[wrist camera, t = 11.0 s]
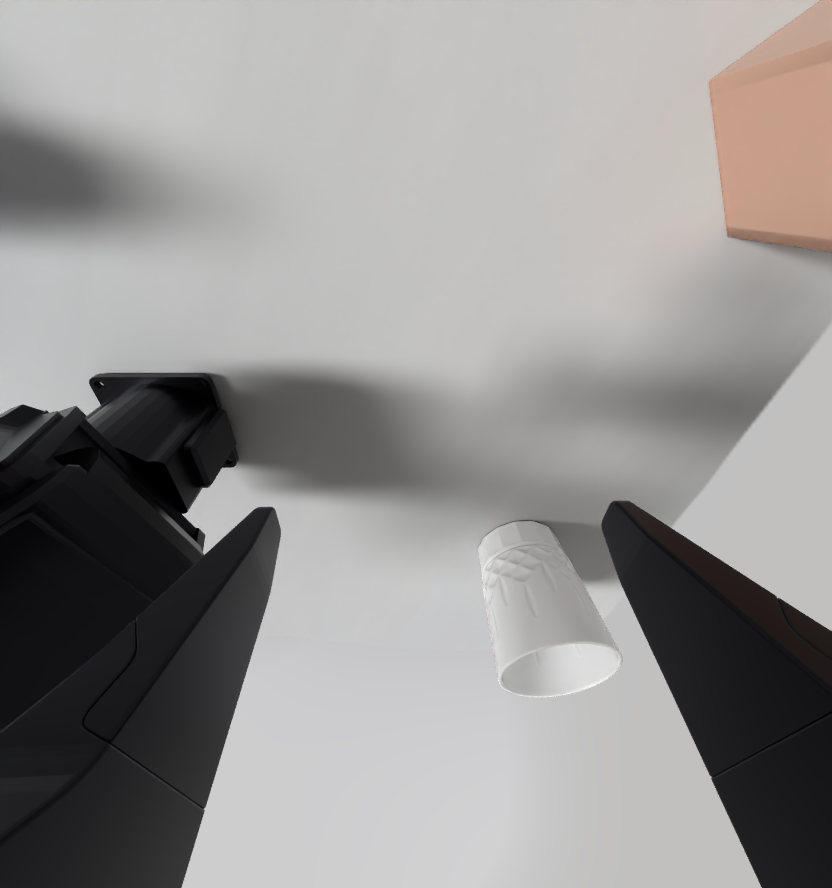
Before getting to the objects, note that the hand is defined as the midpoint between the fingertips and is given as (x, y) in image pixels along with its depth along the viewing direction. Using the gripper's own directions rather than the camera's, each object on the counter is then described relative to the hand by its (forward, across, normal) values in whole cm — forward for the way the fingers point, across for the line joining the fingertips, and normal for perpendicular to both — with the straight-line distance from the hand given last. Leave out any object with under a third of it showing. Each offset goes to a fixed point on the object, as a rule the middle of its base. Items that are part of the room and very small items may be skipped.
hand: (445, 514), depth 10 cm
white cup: (+13, -9, +18) cm, 24 cm away
